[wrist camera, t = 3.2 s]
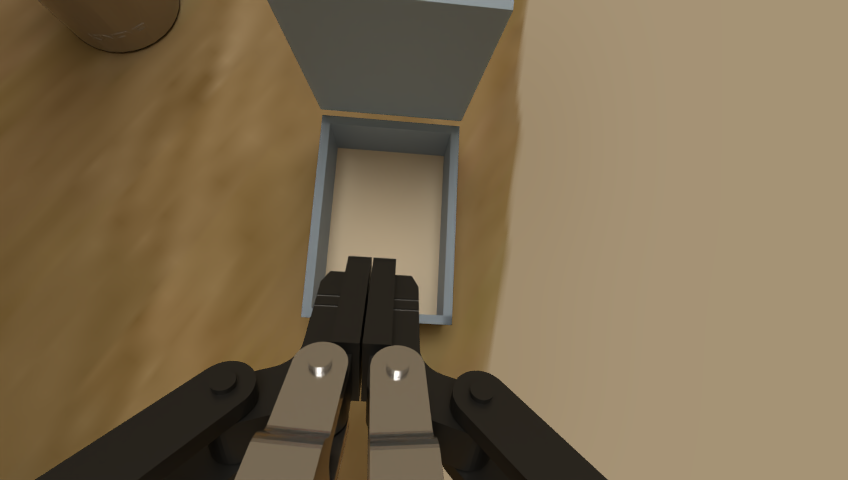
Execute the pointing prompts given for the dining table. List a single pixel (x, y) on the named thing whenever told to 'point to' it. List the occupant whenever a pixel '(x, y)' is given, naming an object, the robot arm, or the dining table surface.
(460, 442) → the robot arm
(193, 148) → the dining table surface
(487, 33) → the lid
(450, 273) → the box
